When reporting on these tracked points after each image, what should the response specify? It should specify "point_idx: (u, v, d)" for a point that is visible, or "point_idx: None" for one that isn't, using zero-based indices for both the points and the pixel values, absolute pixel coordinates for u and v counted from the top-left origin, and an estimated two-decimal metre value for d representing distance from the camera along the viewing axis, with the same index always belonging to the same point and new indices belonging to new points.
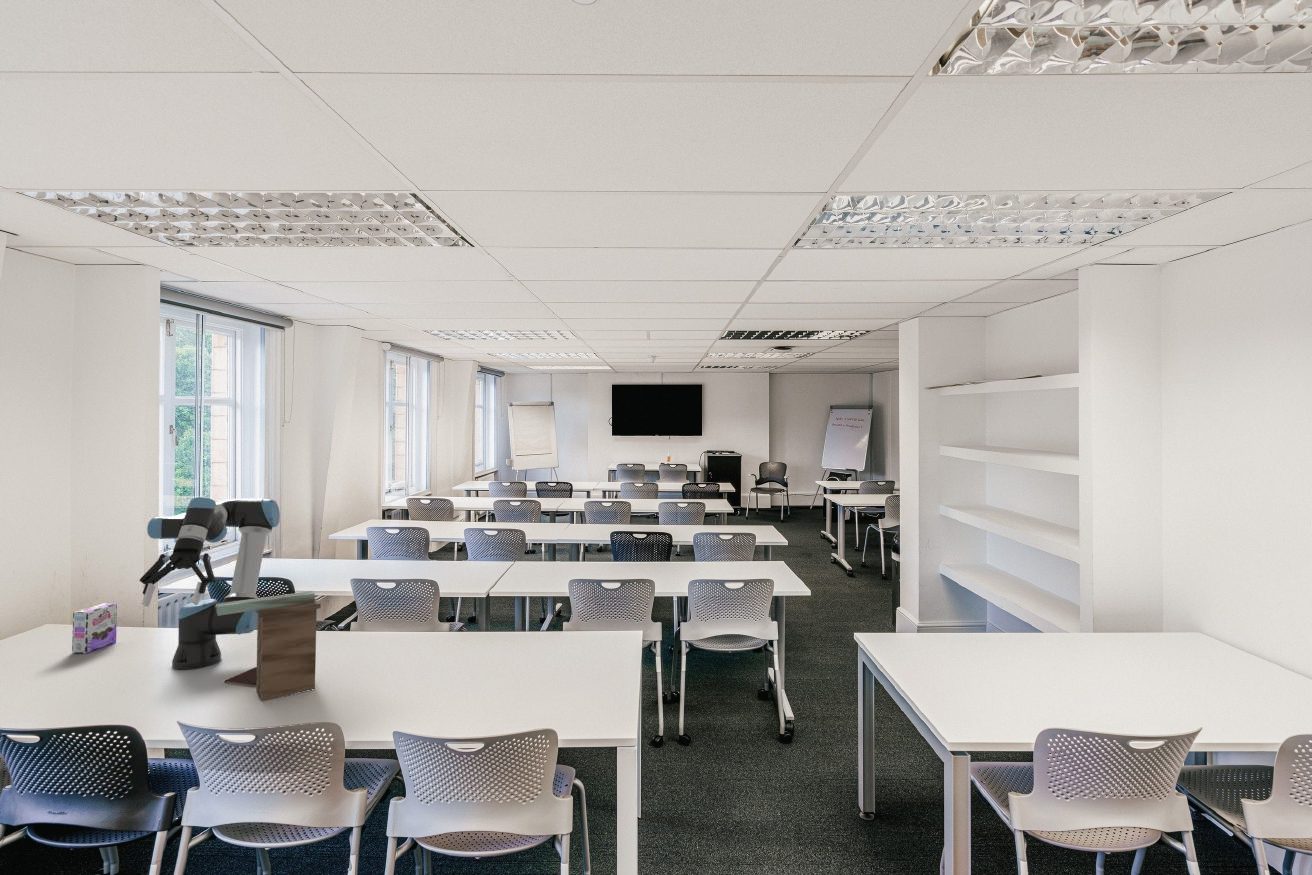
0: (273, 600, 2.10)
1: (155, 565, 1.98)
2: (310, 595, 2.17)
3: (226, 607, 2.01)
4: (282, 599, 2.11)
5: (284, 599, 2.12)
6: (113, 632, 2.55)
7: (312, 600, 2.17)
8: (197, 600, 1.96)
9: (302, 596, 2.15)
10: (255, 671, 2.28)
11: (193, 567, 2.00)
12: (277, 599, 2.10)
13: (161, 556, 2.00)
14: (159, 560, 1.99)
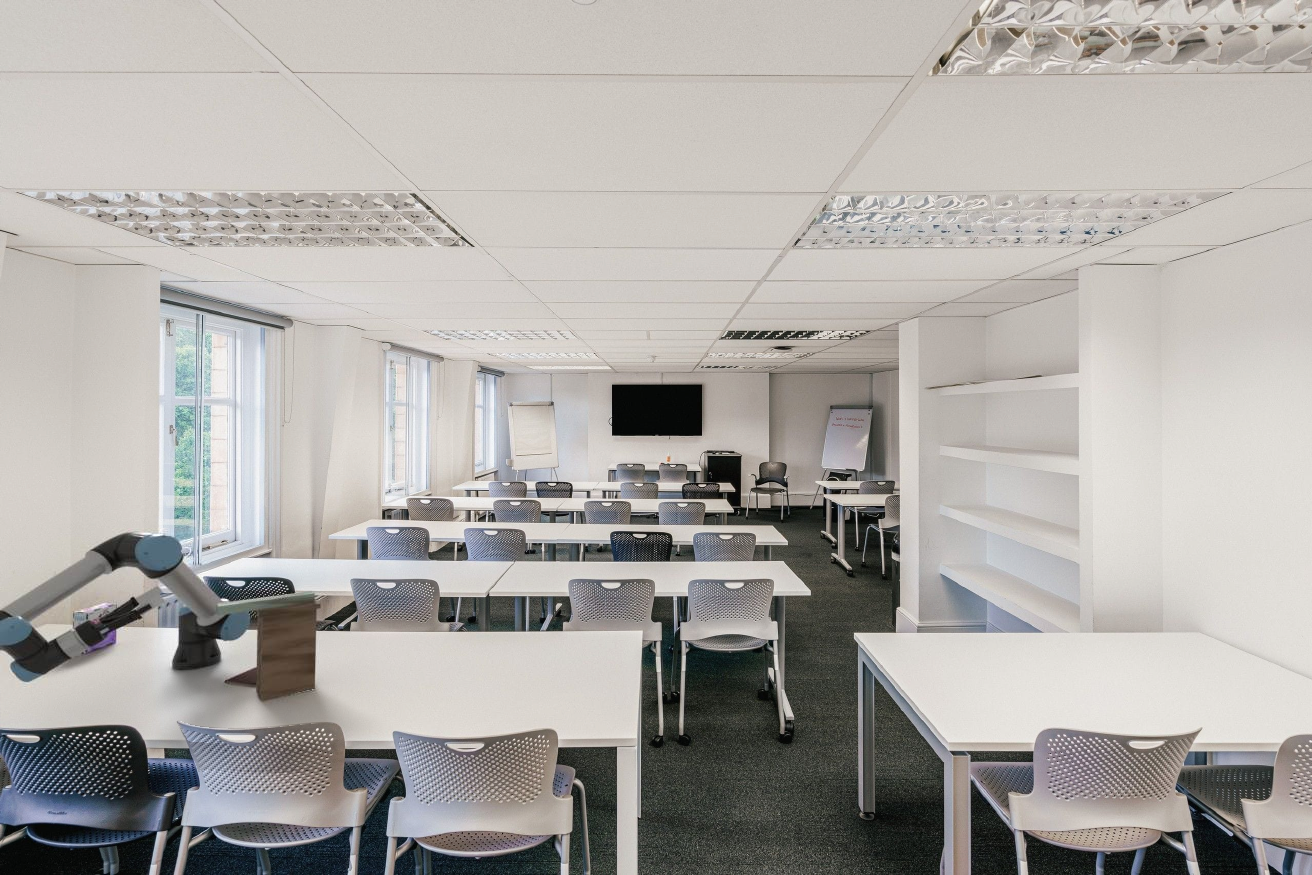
0: (273, 600, 2.10)
1: None
2: (310, 595, 2.17)
3: (226, 607, 2.01)
4: (282, 599, 2.11)
5: (284, 599, 2.12)
6: (113, 632, 2.56)
7: (312, 600, 2.17)
8: (158, 599, 1.91)
9: (302, 596, 2.15)
10: (255, 671, 2.28)
11: None
12: (277, 599, 2.10)
13: None
14: None
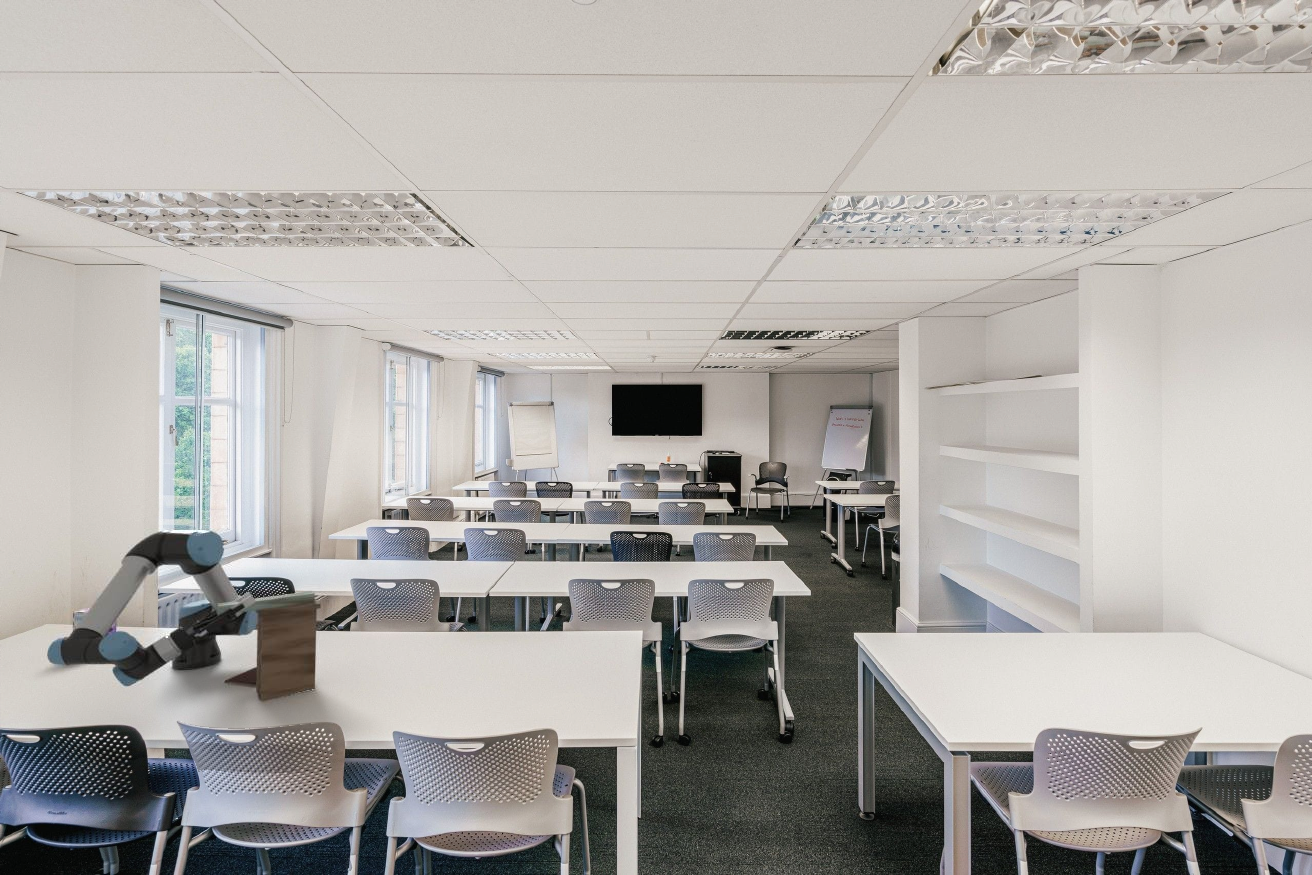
0: (273, 600, 2.10)
1: None
2: (310, 595, 2.17)
3: (226, 608, 2.01)
4: (282, 599, 2.11)
5: (284, 599, 2.12)
6: (113, 632, 2.55)
7: (312, 600, 2.17)
8: (250, 599, 2.05)
9: (302, 596, 2.15)
10: (255, 671, 2.28)
11: None
12: (277, 599, 2.10)
13: None
14: None
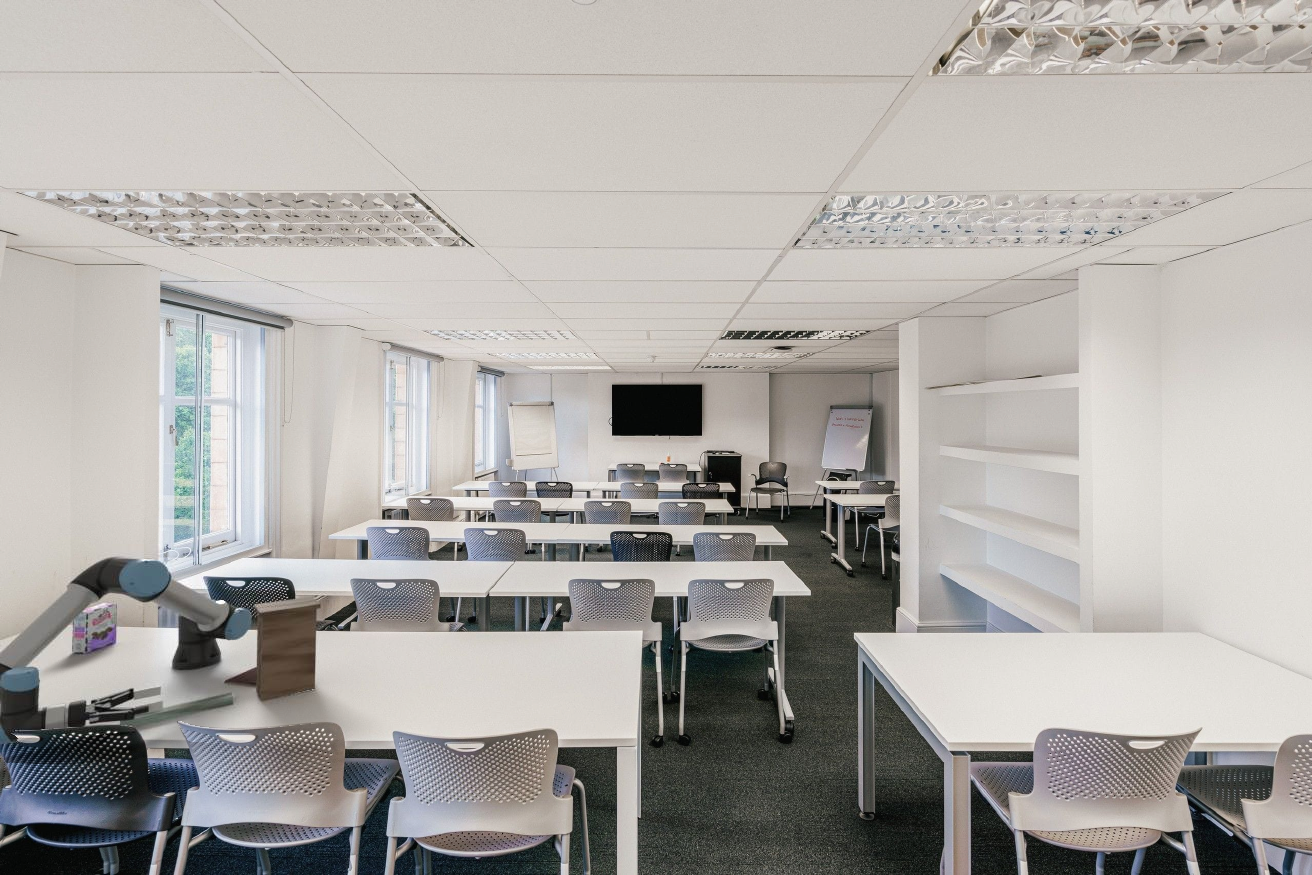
0: (185, 708, 1.94)
1: None
2: (228, 699, 2.02)
3: (130, 722, 1.86)
4: (195, 706, 1.96)
5: (197, 706, 1.97)
6: (113, 632, 2.56)
7: (230, 704, 2.02)
8: (159, 705, 1.86)
9: (218, 701, 2.00)
10: (255, 671, 2.28)
11: None
12: (189, 707, 1.95)
13: None
14: None
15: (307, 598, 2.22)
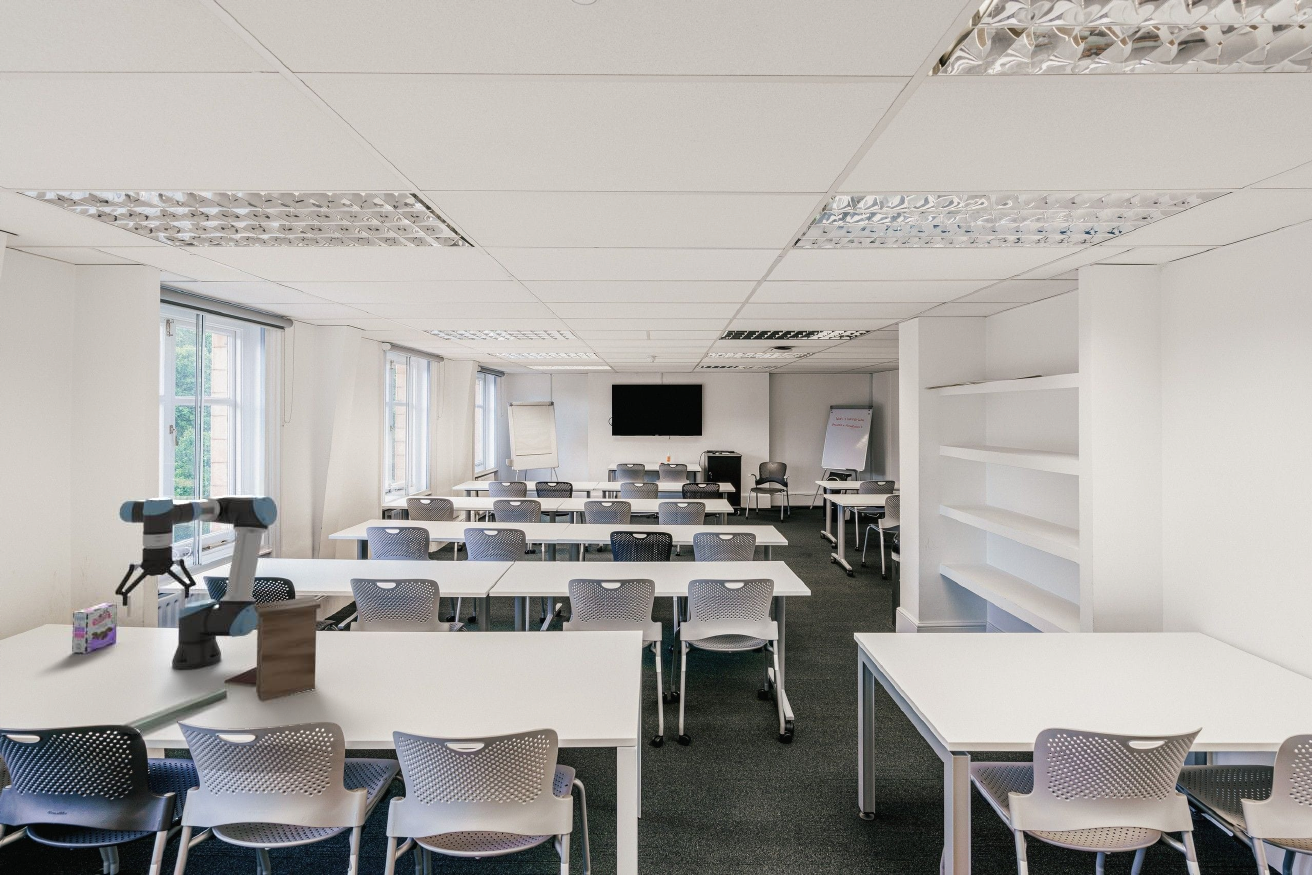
0: (187, 706, 1.96)
1: (128, 576, 1.94)
2: (222, 693, 2.06)
3: (141, 726, 1.83)
4: (196, 703, 1.98)
5: (197, 703, 1.99)
6: (113, 632, 2.56)
7: (224, 698, 2.07)
8: None
9: (215, 696, 2.04)
10: (255, 671, 2.28)
11: (172, 575, 2.01)
12: (191, 704, 1.97)
13: (131, 566, 1.94)
14: (130, 571, 1.94)
15: (307, 598, 2.22)
